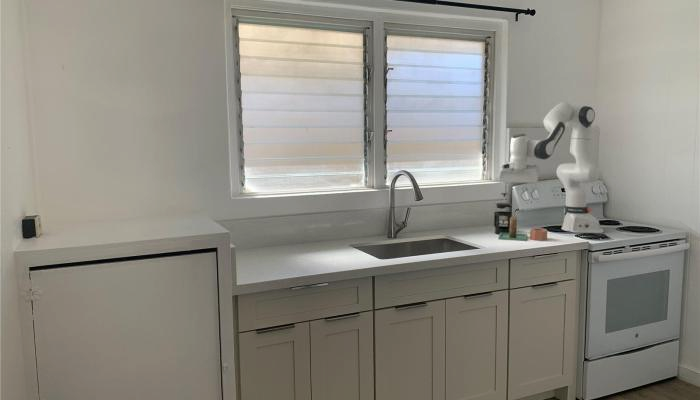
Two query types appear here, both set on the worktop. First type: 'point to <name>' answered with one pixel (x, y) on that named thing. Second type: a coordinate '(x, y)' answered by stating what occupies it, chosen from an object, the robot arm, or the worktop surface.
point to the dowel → (513, 227)
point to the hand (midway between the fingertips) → (517, 190)
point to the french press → (503, 213)
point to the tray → (506, 237)
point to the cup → (538, 234)
